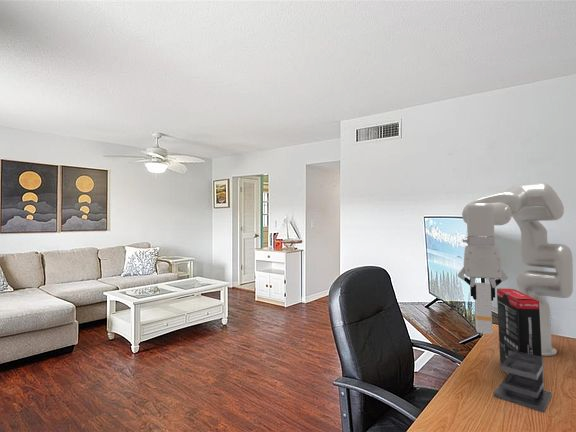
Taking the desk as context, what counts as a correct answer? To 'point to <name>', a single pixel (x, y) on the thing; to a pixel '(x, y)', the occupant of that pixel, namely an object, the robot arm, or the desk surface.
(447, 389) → the desk surface
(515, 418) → the desk surface
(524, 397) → the collar stand
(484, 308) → the silver square metal bar
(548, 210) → the robot arm
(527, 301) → the graphics card box
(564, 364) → the desk surface
